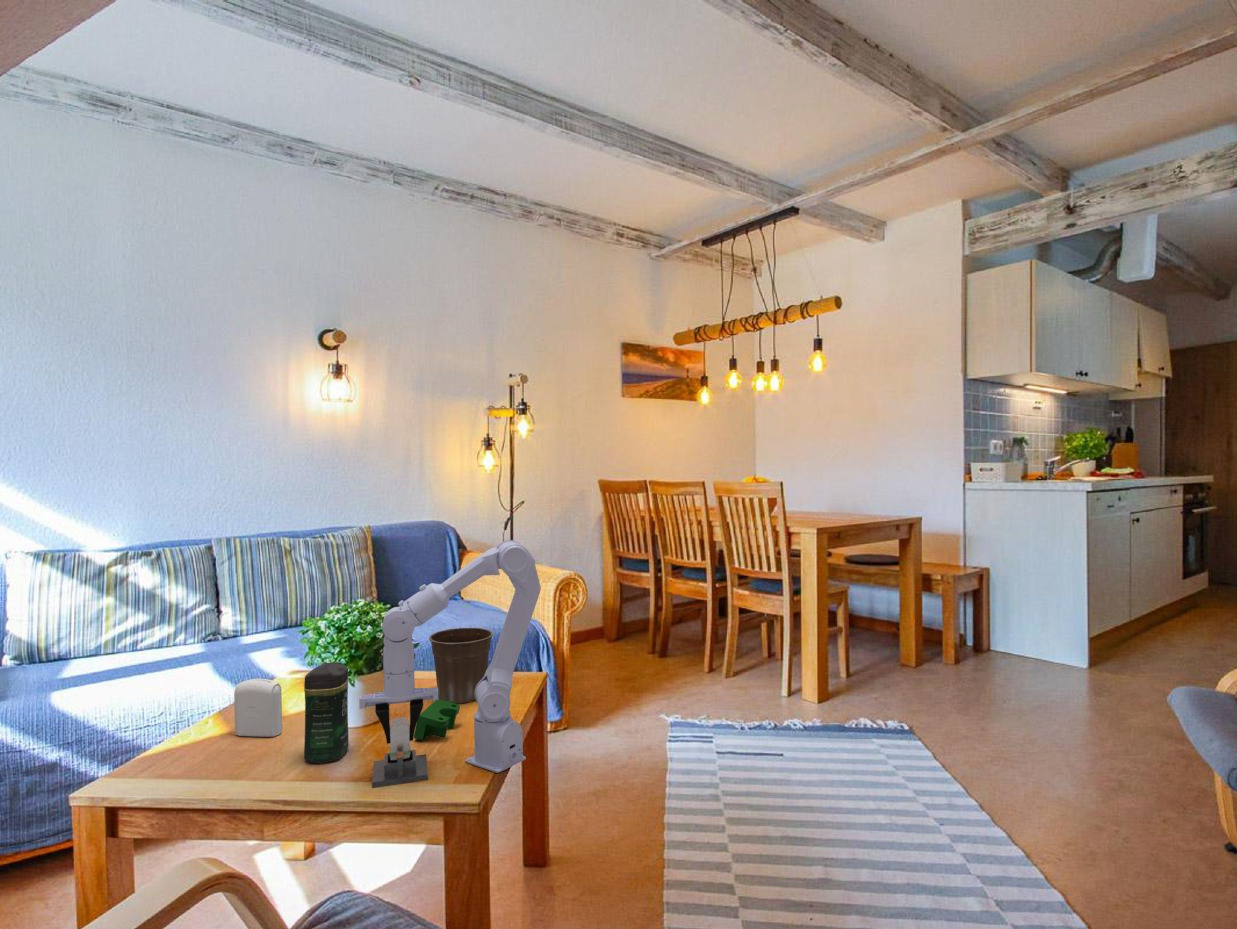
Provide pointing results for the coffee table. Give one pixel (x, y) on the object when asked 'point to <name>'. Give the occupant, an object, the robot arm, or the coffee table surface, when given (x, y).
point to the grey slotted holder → (400, 769)
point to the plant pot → (460, 661)
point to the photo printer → (258, 708)
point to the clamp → (436, 719)
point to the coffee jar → (326, 713)
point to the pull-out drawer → (399, 738)
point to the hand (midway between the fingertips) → (400, 740)
